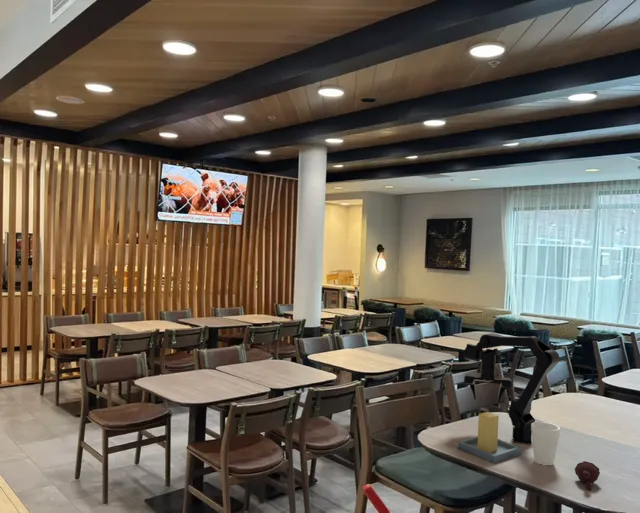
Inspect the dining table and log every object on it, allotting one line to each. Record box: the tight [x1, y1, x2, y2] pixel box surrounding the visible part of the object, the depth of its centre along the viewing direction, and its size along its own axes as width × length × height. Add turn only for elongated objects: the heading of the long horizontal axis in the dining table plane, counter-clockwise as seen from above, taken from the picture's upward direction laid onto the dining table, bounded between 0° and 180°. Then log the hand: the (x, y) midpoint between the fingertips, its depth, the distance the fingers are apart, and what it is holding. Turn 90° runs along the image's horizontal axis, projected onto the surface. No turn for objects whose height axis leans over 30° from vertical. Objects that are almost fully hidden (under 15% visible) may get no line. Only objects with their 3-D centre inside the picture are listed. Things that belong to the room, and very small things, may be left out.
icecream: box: [574, 460, 601, 491], centre depth 175 cm, size 7×7×15 cm
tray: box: [457, 435, 522, 464], centre depth 199 cm, size 16×16×2 cm
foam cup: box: [531, 421, 561, 466], centre depth 191 cm, size 10×9×13 cm
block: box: [477, 411, 499, 453], centre depth 198 cm, size 5×5×13 cm
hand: (486, 400), depth 223 cm, fingers open, 9 cm apart
